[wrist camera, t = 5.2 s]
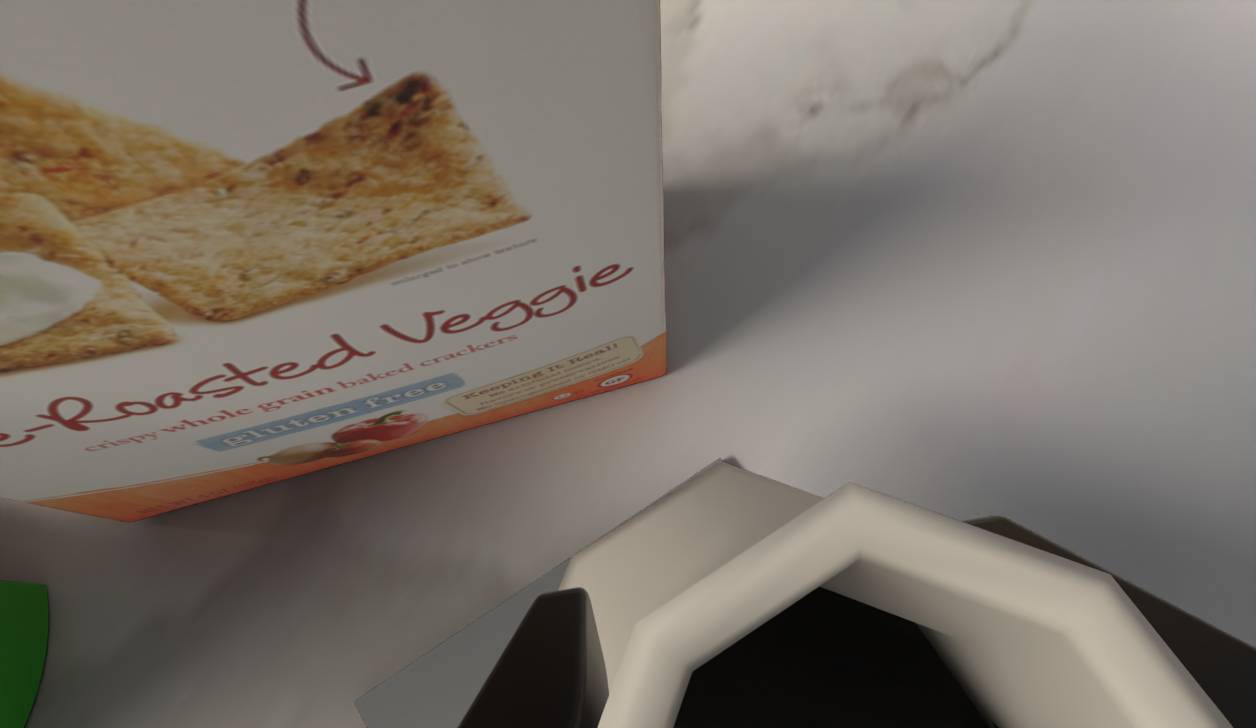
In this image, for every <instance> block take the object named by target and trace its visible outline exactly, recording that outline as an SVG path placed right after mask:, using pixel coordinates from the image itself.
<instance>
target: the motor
mask: <svg viewBox="0 0 1256 728" xmlns="http://www.w3.org/2000/svg"><path fill="white" fill-rule="evenodd" d="M47 638H48V598H47V590H46V585H39V584H30V583H21V582H12V581H2V580H0V728H24V726H25V724H26V721H27V719H28V716H29V714H30V711H31V709H32V706H33V703H34V700H35V697H36V694H37V690H38V687H39V683H40V679H41V676H42V671H43V666H44V661H45V655H46V648H47Z"/></svg>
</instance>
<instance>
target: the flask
mask: <svg viewBox="0 0 1256 728" xmlns="http://www.w3.org/2000/svg"><path fill="white" fill-rule="evenodd" d="M576 587H581V588H584V589H585V590H586V591H587V592H588V594H589V597H590V601H591V604H592V609H593V613H594V618H595V622H596V626H597V631H598V635H599V639H600V644H601V648H602V652H603V657H604V661H605V667H606V673H607V680H608V688H609V697H608V700H607V703H606V705H605V708H604V711H603V714H602V716H601V719H600V722H599V725H598V727H597V728H995V726H994V724H993V722H994V723H995V724H996V725H997V726H998V727H999V728H1233V726H1232V725H1231V724H1230V723H1229V721H1228V720H1227V719H1226V718H1225V717H1224V715H1223V714H1222V713H1221V712H1220V710H1219V709H1218V708H1217V707H1216V705H1215V704H1214V703H1213V702H1212V700H1211V699H1210V698H1209V697H1208V695H1207V694H1206V693H1205V692H1204V690H1203V689H1202V688H1201V687H1200V685H1199V684H1198V683H1197V682H1196V680H1195V679H1194V678H1193V677H1192V675H1191V674H1190V673H1189V672H1188V670H1187V669H1186V668H1185V667H1184V666H1183V664H1182V663H1181V662H1180V661H1179V659H1178V658H1177V657H1176V656H1175V654H1174V653H1173V652H1172V651H1171V649H1170V648H1169V647H1168V646H1167V644H1166V643H1165V642H1164V641H1163V639H1162V638H1161V637H1160V636H1159V634H1158V633H1157V632H1156V631H1155V629H1154V628H1153V627H1152V626H1151V624H1150V623H1149V622H1148V621H1147V619H1146V618H1145V617H1144V616H1143V614H1142V613H1141V612H1140V611H1139V610H1138V608H1137V607H1136V606H1135V605H1134V603H1133V602H1132V601H1131V600H1130V598H1129V597H1128V596H1127V595H1126V593H1125V592H1124V591H1123V590H1122V588H1121V587H1120V586H1119V585H1118V583H1117V582H1116V581H1115V580H1114V578H1113V577H1112V576H1111V575H1110V574H1108V573H1105V572H1102V571H1099V570H1097V569H1094V568H1091V567H1088V566H1085V565H1082V564H1080V563H1077V562H1074V561H1071V560H1068V559H1065V558H1063V557H1060V556H1057V555H1054V554H1051V553H1049V552H1046V551H1043V550H1040V549H1037V548H1034V547H1032V546H1029V545H1026V544H1023V543H1020V542H1017V541H1015V540H1012V539H1009V538H1006V537H1003V536H1001V535H998V534H995V533H992V532H989V531H986V530H984V529H981V528H978V527H975V526H972V525H969V524H967V523H964V522H961V521H958V520H955V519H953V518H950V517H947V516H944V515H941V514H938V513H936V512H933V511H930V510H927V509H924V508H921V507H919V506H916V505H913V504H910V503H907V502H905V501H902V500H899V499H896V498H893V497H890V496H888V495H885V494H882V493H879V492H876V491H874V490H871V489H868V488H865V487H862V486H859V485H857V484H854V483H851V482H849V483H848V484H846V485H845V486H843V487H841V488H840V489H838V490H837V491H835V492H834V493H832V494H831V495H829V496H828V497H826V498H822V497H819V496H816V495H814V494H811V493H808V492H805V491H803V490H800V489H797V488H794V487H791V486H789V485H786V484H783V483H780V482H778V481H775V480H772V479H769V478H766V477H764V476H761V475H758V474H755V473H752V472H750V471H747V470H744V469H741V468H739V467H736V466H733V465H730V464H727V463H725V462H722V461H720V462H718V463H717V464H715V465H713V466H712V467H710V468H709V469H707V470H706V471H704V472H702V473H701V474H699V475H698V476H696V477H695V478H693V479H692V480H690V481H688V482H687V483H685V484H684V485H682V486H681V487H679V488H678V489H676V490H674V491H673V492H671V493H670V494H668V495H667V496H665V497H664V498H662V499H660V500H659V501H657V502H656V503H654V504H653V505H651V506H649V507H648V508H646V509H645V510H643V511H642V512H640V513H639V514H637V515H635V516H634V517H632V518H631V519H629V520H628V521H626V522H625V523H623V524H621V525H620V526H618V527H617V528H615V529H614V530H612V531H611V532H609V533H607V534H606V535H604V536H603V537H601V538H600V539H598V540H596V541H595V542H593V543H592V544H590V545H589V546H587V547H586V548H584V549H582V550H581V551H579V552H578V553H576V554H575V555H573V556H572V557H571V559H570V561H569V564H568V566H567V569H566V571H565V574H564V577H563V579H562V582H561V584H560V587H559V589H558V590H564V589H570V588H576ZM992 721H993V722H992Z"/></svg>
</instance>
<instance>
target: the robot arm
mask: <svg viewBox="0 0 1256 728" xmlns="http://www.w3.org/2000/svg"><path fill="white" fill-rule="evenodd" d="M961 522H964V523H967V524H969V525H972V526H975V527H978V528H981V529H984V530H986V531H989V532H992V533H995V534H998V535H1001V536H1003V537H1006V538H1009V539H1012V540H1015V541H1017V542H1020V543H1023V544H1026V545H1029V546H1032V547H1034V548H1037V549H1040V550H1043V551H1046V552H1049V553H1051V554H1054V555H1057V556H1060V557H1063V558H1065V559H1068V560H1071V561H1074V562H1077V563H1080V564H1082V565H1085V566H1088V567H1091V568H1094V569H1097V570H1099V571H1102V572H1105V573H1108V574H1110V575H1111V576H1112V577H1113V578H1114V580H1115V581H1116V582H1117V583H1118V585H1119V586H1120V587H1121V588H1122V590H1123V591H1124V592H1125V593H1126V595H1127V596H1128V597H1129V598H1130V600H1131V601H1132V602H1133V603H1134V605H1135V606H1136V607H1137V608H1138V610H1139V611H1140V612H1141V613H1142V614H1143V616H1144V617H1145V618H1146V619H1147V621H1148V622H1149V623H1150V624H1151V626H1152V627H1153V628H1154V629H1155V631H1156V632H1157V633H1158V634H1159V636H1160V637H1161V638H1162V639H1163V641H1164V642H1165V643H1166V644H1167V646H1168V647H1169V648H1170V649H1171V651H1172V652H1173V653H1174V654H1175V656H1176V657H1177V658H1178V659H1179V661H1180V662H1181V663H1182V664H1183V666H1184V667H1185V668H1186V669H1187V670H1188V672H1189V673H1190V674H1191V675H1192V677H1193V678H1194V679H1195V680H1196V682H1197V683H1198V684H1199V685H1200V687H1201V688H1202V689H1203V690H1204V692H1205V693H1206V694H1207V695H1208V697H1209V698H1210V699H1211V700H1212V702H1213V703H1214V704H1215V705H1216V707H1217V708H1218V709H1219V710H1220V712H1221V713H1222V714H1223V715H1224V717H1225V718H1226V719H1227V720H1228V721H1229V723H1230V724H1231V725H1232V726H1233V728H1256V648H1255V647H1253V646H1251V645H1249V644H1247V643H1245V642H1243V641H1241V640H1240V639H1238V638H1236V637H1234V636H1232V635H1230V634H1228V633H1226V632H1224V631H1222V630H1220V629H1218V628H1217V627H1215V626H1213V625H1211V624H1209V623H1207V622H1205V621H1203V620H1201V619H1199V618H1197V617H1195V616H1194V615H1192V614H1190V613H1188V612H1186V611H1184V610H1182V609H1180V608H1178V607H1176V606H1174V605H1172V604H1170V603H1169V602H1167V601H1165V600H1163V599H1161V598H1159V597H1157V596H1155V595H1153V594H1151V593H1149V592H1147V591H1146V590H1144V589H1142V588H1140V587H1138V586H1136V585H1134V584H1132V583H1130V582H1128V581H1126V580H1124V579H1123V578H1121V577H1119V576H1117V575H1115V574H1113V573H1111V572H1109V571H1107V570H1105V569H1103V568H1101V567H1100V566H1098V565H1096V564H1094V563H1092V562H1090V561H1088V560H1086V559H1084V558H1082V557H1080V556H1078V555H1077V554H1075V553H1073V552H1071V551H1069V550H1067V549H1065V548H1063V547H1061V546H1059V545H1057V544H1055V543H1054V542H1052V541H1050V540H1048V539H1046V538H1044V537H1042V536H1040V535H1038V534H1036V533H1034V532H1032V531H1031V530H1029V529H1027V528H1025V527H1023V526H1021V525H1019V524H1017V523H1015V522H1013V521H1011V520H1009V519H1007V518H1005V517H1001V516H989V517H983V518H977V519H972V520H966V521H961ZM608 697H609V688H608V680H607V673H606V667H605V661H604V657H603V652H602V648H601V644H600V639H599V635H598V631H597V626H596V622H595V618H594V613H593V609H592V604H591V601H590V597H589V594H588V592H587V591H586V590H585V589H584V588H581V587H576V588H570V589H564V590H558V591H552V592H547V593H543V594H540V595H539V596H538V597H537V598H536V599H535V600H534V602H533V603H532V605H531V607H530V608H529V610H528V612H527V613H526V615H525V617H524V618H523V620H522V621H521V623H520V625H519V626H518V628H517V630H516V631H515V633H514V635H513V636H512V638H511V640H510V641H509V643H508V645H507V646H506V648H505V650H504V651H503V653H502V655H501V656H500V658H499V660H498V661H497V663H496V665H495V666H494V668H493V669H492V671H491V673H490V674H489V676H488V678H487V679H486V681H485V683H484V684H483V686H482V688H481V689H480V691H479V693H478V694H477V696H476V698H475V699H474V701H473V703H472V704H471V706H470V708H469V709H468V711H467V712H466V714H465V716H464V717H463V719H462V721H461V722H460V724H459V726H458V727H457V728H597V727H598V725H599V722H600V719H601V716H602V714H603V711H604V708H605V705H606V703H607V700H608ZM992 722H993V721H992ZM993 724H994V726H995V728H999V727H998V726H997V725H996V724H995V723H994V722H993Z"/></svg>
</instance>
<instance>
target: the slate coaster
mask: <svg viewBox="0 0 1256 728" xmlns="http://www.w3.org/2000/svg"><path fill="white" fill-rule="evenodd" d="M720 461H722V460H721V458H719V459H718V460H716V461H715V462H713V463H712V464H710V465H709V466H707V467H706V468H704V469H703V470H701V471H700V472H698V473H697V474H695V475H694V476H692V477H691V478H689V479H688V480H686V481H685V482H683V483H682V484H680V485H679V486H677V487H676V488H674V489H673V490H671V491H670V492H668V493H667V494H665V495H664V496H662V497H661V498H659V499H658V500H656V501H655V502H653V503H652V504H650V505H649V506H651V505H653V504H654V503H656V502H657V501H659V500H660V499H662V498H664V497H665V496H667V495H668V494H670V493H671V492H673V491H674V490H676V489H678V488H679V487H681V486H682V485H684V484H685V483H687V482H688V481H690V480H692V479H693V478H695V477H696V476H698V475H699V474H701V473H702V472H704V471H706V470H707V469H709V468H710V467H712V466H713V465H715V464H717V463H718V462H720ZM722 462H723V461H722ZM649 506H647V507H646V508H648V507H649ZM646 508H644V509H643V510H645V509H646ZM643 510H641V511H640V512H642V511H643ZM640 512H638V513H637V514H639V513H640ZM637 514H635V515H637ZM635 515H634V516H635ZM634 516H632V517H634ZM632 517H631V518H632ZM631 518H629V519H631ZM629 519H628V520H629ZM628 520H626V521H628ZM626 521H625V522H626ZM625 522H623V523H625ZM623 523H622V524H623ZM620 525H621V524H620ZM620 525H619V526H620ZM617 527H618V526H617ZM617 527H616V528H617ZM614 529H615V528H614ZM614 529H613V530H614ZM611 531H612V530H611ZM611 531H610V532H611ZM608 533H609V532H608ZM605 535H606V534H605ZM602 537H603V536H602ZM599 539H600V538H599ZM570 559H571V558H569V559H568V560H566V561H565V562H563V563H562V564H560V565H559V566H557V567H556V568H554V569H553V570H551V571H550V572H548V573H547V574H545V575H544V576H542V577H541V578H539V579H538V580H536V581H535V582H533V583H532V584H530V585H529V586H527V587H526V588H524V589H523V590H521V591H520V592H518V593H517V594H515V595H514V596H512V597H511V598H509V599H508V600H506V601H505V602H503V603H502V604H500V605H499V606H497V607H496V608H494V609H493V610H491V611H490V612H488V613H487V614H485V615H484V616H482V617H481V618H479V619H478V620H476V621H475V622H473V623H472V624H470V625H469V626H467V627H466V628H464V629H463V630H461V631H460V632H458V633H457V634H455V635H454V636H452V637H451V638H449V639H448V640H446V641H445V642H443V643H442V644H440V645H439V646H437V647H435V648H434V649H432V650H431V651H429V652H428V653H426V654H425V655H423V656H422V657H420V658H419V659H417V660H416V661H414V662H413V663H411V664H410V665H408V666H407V667H405V668H404V669H402V670H401V671H399V672H398V673H396V674H395V675H393V676H392V677H390V678H389V679H387V680H386V681H384V682H383V683H381V684H380V685H378V686H377V687H375V688H374V689H372V690H371V691H369V692H368V693H366V694H365V695H363V696H362V697H360V698H359V699H357V700H356V701H354V703H355V705H356V707H357V709H358V711H359V713H360V715H361V717H362V719H363V721H364V723H365V725H366V727H367V728H457V727H458V726H459V724H460V722H461V721H462V719H463V717H464V716H465V714H466V712H467V711H468V709H469V708H470V706H471V704H472V703H473V701H474V699H475V698H476V696H477V694H478V693H479V691H480V689H481V688H482V686H483V684H484V683H485V681H486V679H487V678H488V676H489V674H490V673H491V671H492V669H493V668H494V666H495V665H496V663H497V661H498V660H499V658H500V656H501V655H502V653H503V651H504V650H505V648H506V646H507V645H508V643H509V641H510V640H511V638H512V636H513V635H514V633H515V631H516V630H517V628H518V626H519V625H520V623H521V621H522V620H523V618H524V617H525V615H526V613H527V612H528V610H529V608H530V607H531V605H532V603H533V602H534V600H535V599H536V598H537V597H538V596H539V595H540V594H543V593H547V592H552V591H558V589H559V587H560V584H561V582H562V579H563V577H564V574H565V571H566V569H567V566H568V564H569V561H570Z"/></svg>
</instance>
